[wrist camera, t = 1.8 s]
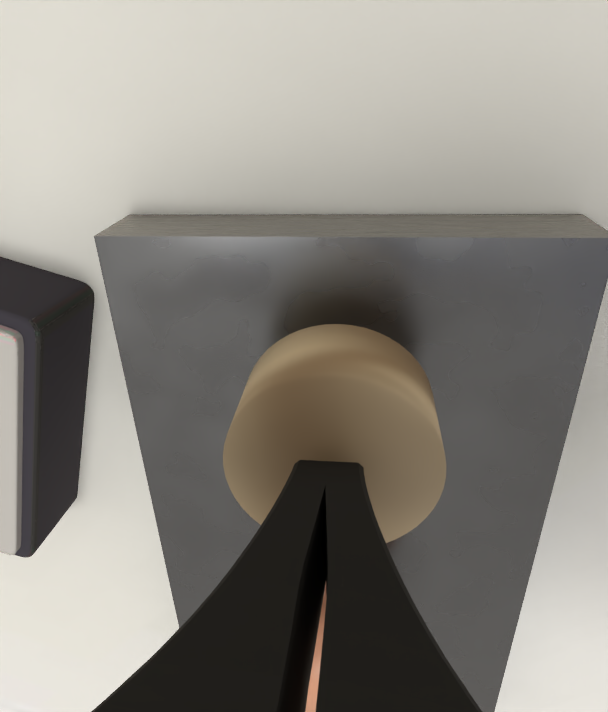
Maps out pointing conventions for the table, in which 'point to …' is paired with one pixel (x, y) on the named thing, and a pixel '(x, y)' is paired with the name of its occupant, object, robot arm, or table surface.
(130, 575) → the table surface
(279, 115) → the table surface
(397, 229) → the knob panel
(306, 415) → the knob
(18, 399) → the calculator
